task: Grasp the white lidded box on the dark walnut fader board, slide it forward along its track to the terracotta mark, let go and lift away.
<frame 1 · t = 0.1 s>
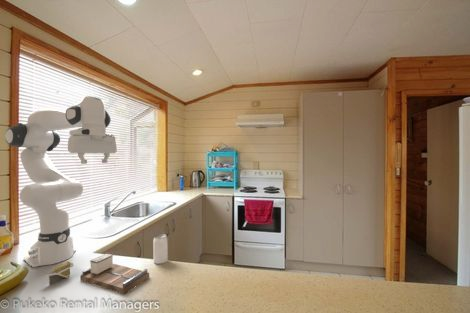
hand: (94, 163, 98), 48 cm above the countertop, fingers open, 8 cm apart
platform: (61, 281, 90), on the countertop
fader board: (115, 278, 90), on the countertop
white lidded box: (101, 263, 93), point 5 cm above the countertop, slide at 0.0 cm
can: (160, 261, 105), on the countertop
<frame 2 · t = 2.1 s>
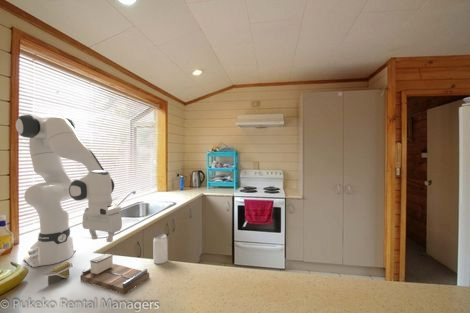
hand: (102, 240, 93), 15 cm above the countertop, fingers open, 8 cm apart
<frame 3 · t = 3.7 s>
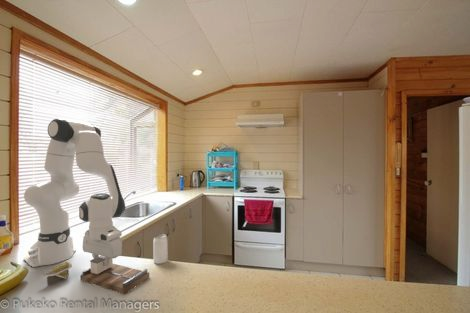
hand: (101, 264, 93), 5 cm above the countertop, fingers closed on white lidded box, 4 cm apart
white lidded box: (101, 263, 93), point 5 cm above the countertop, slide at 0.0 cm, touching gripper
everything else where it was.
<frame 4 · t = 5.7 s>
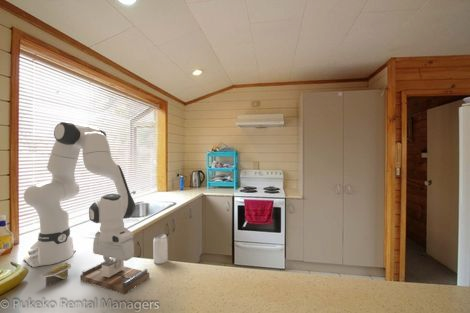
hand: (113, 266, 91), 5 cm above the countertop, fingers closed on white lidded box, 4 cm apart
white lidded box: (112, 266, 91), point 5 cm above the countertop, slide at 6.8 cm, touching gripper
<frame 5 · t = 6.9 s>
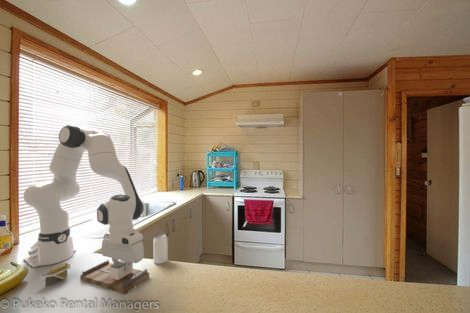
hand: (122, 269, 89), 5 cm above the countertop, fingers closed on white lidded box, 4 cm apart
white lidded box: (122, 268, 89), point 5 cm above the countertop, slide at 12.1 cm, touching gripper
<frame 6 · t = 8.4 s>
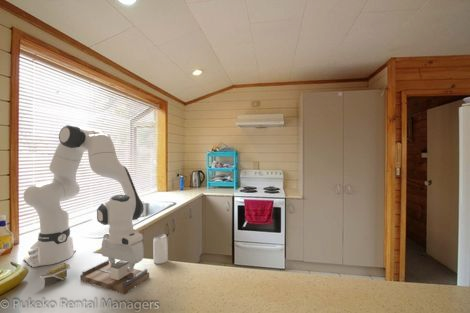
hand: (122, 269, 89), 5 cm above the countertop, fingers open, 8 cm apart
white lidded box: (122, 268, 89), point 5 cm above the countertop, slide at 12.1 cm
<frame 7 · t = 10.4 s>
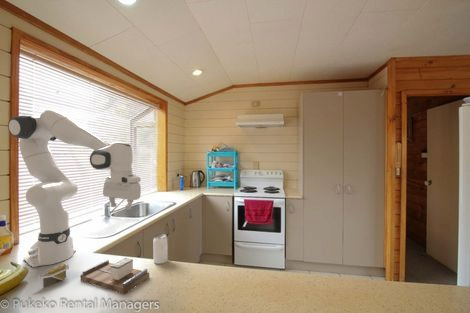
hand: (120, 207, 99), 27 cm above the countertop, fingers open, 8 cm apart
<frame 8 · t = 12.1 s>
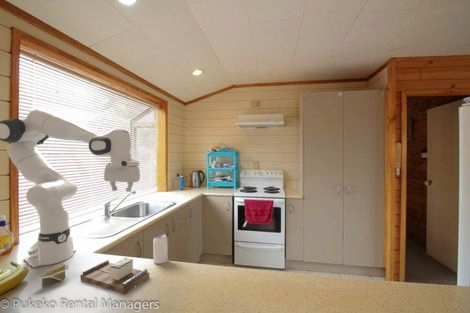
hand: (121, 191, 105), 34 cm above the countertop, fingers open, 8 cm apart
at the end: white lidded box slide at 12.1 cm; the gripper is holding nothing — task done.
